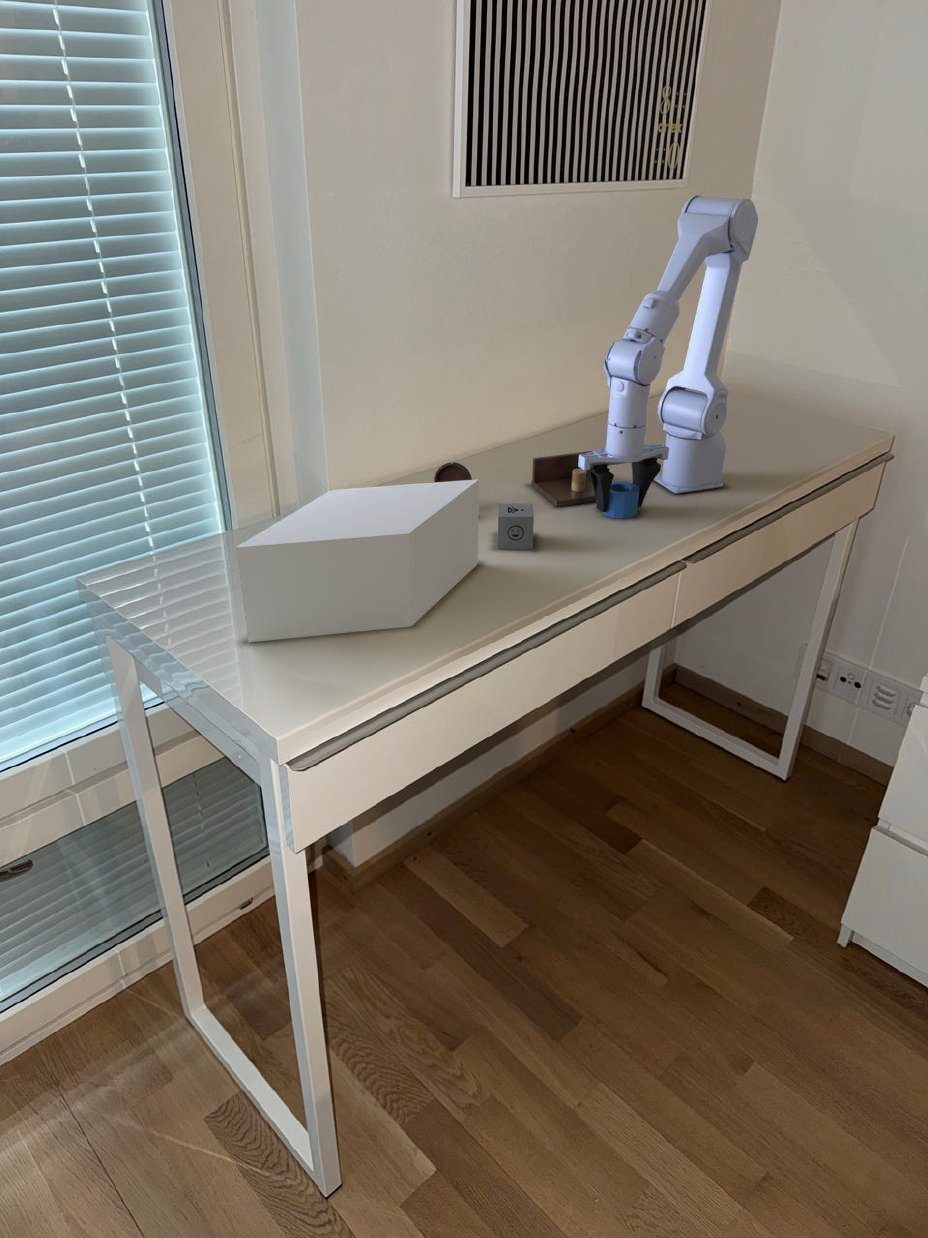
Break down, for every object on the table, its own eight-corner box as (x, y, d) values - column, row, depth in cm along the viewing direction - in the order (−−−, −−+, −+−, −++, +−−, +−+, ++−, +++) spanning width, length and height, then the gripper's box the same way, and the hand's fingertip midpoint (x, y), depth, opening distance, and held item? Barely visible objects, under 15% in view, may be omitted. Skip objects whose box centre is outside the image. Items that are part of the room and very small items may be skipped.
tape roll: (625, 503, 146) (628, 479, 144) (643, 515, 142) (646, 491, 140) (594, 507, 145) (596, 483, 143) (611, 520, 140) (613, 496, 138)
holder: (589, 477, 156) (591, 449, 154) (617, 498, 148) (620, 468, 146) (531, 485, 153) (532, 457, 151) (556, 507, 145) (558, 477, 142)
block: (519, 586, 121) (522, 498, 115) (283, 673, 102) (272, 574, 96) (440, 542, 133) (439, 461, 127) (216, 614, 114) (203, 522, 108)
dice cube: (497, 534, 135) (498, 503, 133) (531, 535, 135) (532, 503, 133) (497, 548, 131) (498, 516, 129) (532, 549, 131) (533, 517, 128)
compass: (419, 520, 140) (418, 475, 137) (437, 502, 147) (436, 458, 143) (469, 526, 138) (469, 481, 134) (484, 507, 144) (485, 464, 141)
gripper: (655, 410, 142) (646, 492, 148) (571, 420, 137) (566, 504, 144) (680, 423, 136) (669, 508, 143) (593, 433, 132) (587, 520, 138)
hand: (619, 507), depth 143 cm, fingers closed on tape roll, 5 cm apart
